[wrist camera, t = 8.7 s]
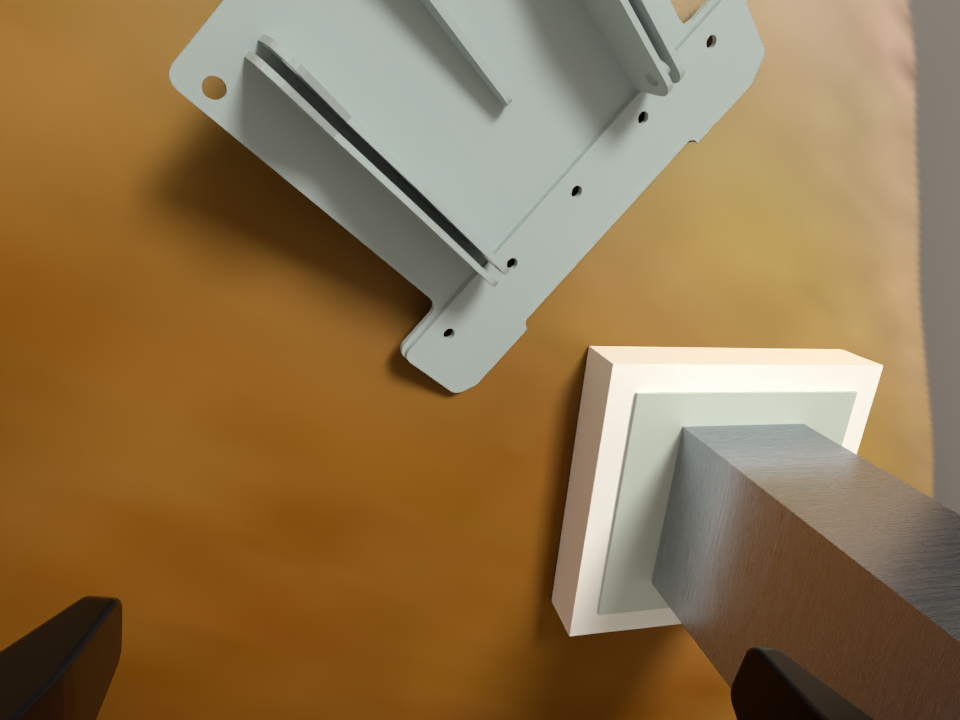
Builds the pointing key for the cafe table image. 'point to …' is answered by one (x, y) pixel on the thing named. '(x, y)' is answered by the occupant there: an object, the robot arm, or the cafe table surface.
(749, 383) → the plinth
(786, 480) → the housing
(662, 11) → the metal bracket
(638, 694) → the cafe table surface
